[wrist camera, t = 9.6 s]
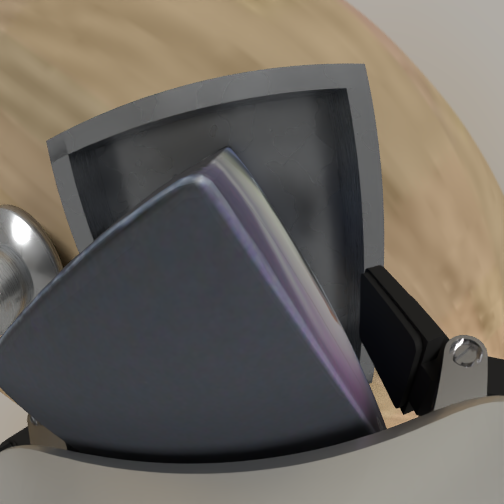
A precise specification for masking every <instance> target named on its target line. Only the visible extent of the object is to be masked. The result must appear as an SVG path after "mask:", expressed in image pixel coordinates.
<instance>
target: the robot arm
mask: <svg viewBox="0 0 504 504" xmlns="http://www.w3.org/2000/svg"><path fill="white" fill-rule="evenodd" d="M359 336H360V339H361V342H362V344H363V346H364V347H365V349H366V351H367V353H368V355H369V357H370V359H371V361H372V363H373V365H374V367H375V369H376V371H377V372H378V374H379V376H380V378H381V380H382V382H383V384H384V386H385V388H386V390H387V392H388V394H389V396H390V398H391V401H392V403H393V405H394V406H395V408H400V409H401V411H402V413H403V415H404V414H406V413H409V412H411V411H413V410H414V411H415V413H416V415H419V416H418V417H417V418H415V419H412V420H410V421H407V422H405V423H402V424H400V425H397V426H394V427H391V428H389V429H386V430H383V431H380V432H377V433H374V434H371V435H368V436H364V437H361V438H358V439H355V440H351V441H348V442H344V443H341V444H337V445H333V446H329V447H325V448H321V449H316V450H312V451H307V452H302V453H297V454H292V455H286V456H280V457H273V458H266V459H258V460H249V461H239V462H226V463H203V464H176V463H153V462H140V461H130V460H121V459H114V458H107V457H101V456H95V455H89V454H83V453H81V452H79V451H78V450H76V449H75V448H73V447H72V446H70V445H69V444H67V443H66V442H64V441H63V440H62V439H60V438H59V437H58V436H56V435H55V434H53V433H52V432H51V431H50V430H48V429H47V428H46V427H44V426H43V425H42V424H41V423H39V422H38V421H37V420H36V419H35V418H33V417H32V416H31V415H30V414H29V413H28V418H27V422H28V426H27V427H26V428H24V429H23V430H21V431H19V432H18V433H16V434H15V435H13V436H12V437H10V438H8V439H7V440H5V441H4V442H2V444H1V445H0V504H504V360H503V359H498V358H493V357H488V356H487V350H486V348H485V346H484V344H483V343H482V342H481V341H480V340H478V339H477V338H475V337H472V336H468V335H459V336H456V337H453V338H452V339H450V340H449V338H448V337H447V336H446V335H445V333H444V332H443V331H442V330H441V329H440V328H439V326H438V325H437V324H436V323H435V322H434V321H433V319H432V318H431V317H430V316H429V315H428V314H427V313H426V311H425V310H424V309H423V308H422V307H421V306H420V305H419V304H418V302H417V301H416V300H415V299H414V298H413V297H412V296H411V295H409V294H408V293H407V291H406V290H405V289H404V288H403V287H402V286H401V285H400V284H399V283H398V282H397V281H396V280H395V279H394V278H393V277H392V275H391V274H390V273H389V272H388V271H387V270H386V269H385V268H384V267H383V266H382V265H378V266H374V267H370V268H366V269H365V273H362V274H361V278H360V323H359Z"/></svg>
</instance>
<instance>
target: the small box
mask: <svg viewBox="0 0 504 504" xmlns="http://www.w3.org/2000/svg"><path fill="white" fill-rule="evenodd" d="M0 387H1V388H2V390H3V391H4V392H5V393H6V394H7V395H8V396H10V397H11V398H12V399H13V400H14V401H15V402H16V403H17V404H18V405H19V406H20V407H22V408H23V409H24V410H25V411H26V412H28V413H29V414H30V415H31V416H32V417H33V418H35V419H36V420H37V421H38V422H39V423H41V424H42V425H43V426H44V427H46V428H47V429H48V430H50V431H51V432H52V433H53V434H55V435H56V436H58V437H59V438H60V439H62V440H63V441H64V442H66V443H67V444H69V445H70V446H72V447H73V448H75V449H76V450H78V451H79V452H81V453H83V454H89V455H95V456H101V457H107V458H114V459H121V460H130V461H140V462H153V463H176V464H203V463H226V462H239V461H249V460H258V459H266V458H273V457H280V456H286V455H292V454H297V453H302V452H307V451H312V450H316V449H321V448H325V447H329V446H333V445H337V444H341V443H344V442H348V441H351V440H355V439H358V438H361V437H364V436H368V435H371V434H374V433H377V432H380V431H383V430H386V429H387V428H386V426H385V423H384V420H383V417H382V415H381V412H380V410H379V407H378V405H377V402H376V400H375V397H374V395H373V392H372V390H371V388H370V385H369V383H368V381H367V379H366V376H365V374H364V372H363V369H362V367H361V365H360V363H359V361H358V358H357V356H356V354H355V352H354V350H353V348H352V346H351V344H350V341H349V339H348V337H347V335H346V333H345V331H344V329H343V327H342V325H341V323H340V321H339V319H338V317H337V315H336V313H335V311H334V310H333V308H332V306H331V304H330V302H329V300H328V298H327V296H326V294H325V292H324V290H323V288H322V287H321V285H320V283H319V281H318V280H317V278H316V276H315V274H314V273H313V271H312V269H311V268H310V266H309V264H308V263H307V261H306V259H305V258H304V256H303V254H302V252H301V251H300V249H299V247H298V246H297V244H296V242H295V241H294V239H293V237H292V236H291V234H290V232H289V231H288V229H287V228H286V226H285V224H284V223H283V221H282V220H281V218H280V217H279V215H278V213H277V212H276V210H275V209H274V207H273V206H272V204H271V203H270V201H269V199H268V198H267V196H266V195H265V193H264V192H263V190H262V189H261V187H260V186H259V185H258V183H257V182H256V180H255V179H254V177H253V176H252V175H251V173H250V172H249V170H248V169H247V168H246V166H245V165H244V164H243V162H242V161H241V160H240V159H239V157H238V156H237V155H236V154H235V152H234V151H233V150H232V149H231V148H230V147H229V146H225V147H223V148H221V149H219V150H218V151H216V152H215V153H213V154H211V155H210V156H208V157H206V158H205V159H203V160H201V161H199V162H198V163H196V164H194V165H193V166H191V167H189V168H188V169H186V170H184V171H183V172H181V173H180V174H178V175H177V176H175V177H174V178H172V179H171V180H169V181H168V182H167V183H165V184H164V185H162V186H161V187H159V188H158V189H156V190H155V191H154V192H153V193H151V194H150V195H149V196H148V197H146V198H145V199H144V200H142V201H141V202H140V203H138V204H137V205H136V206H135V207H133V208H132V209H131V210H130V211H129V212H127V213H126V214H125V215H124V216H122V217H121V218H120V219H119V220H118V221H116V222H115V223H114V224H113V225H111V226H110V227H109V228H108V229H107V230H106V231H104V232H103V233H102V234H101V235H100V236H99V237H97V238H96V239H95V240H94V241H93V242H92V243H91V244H90V245H89V246H88V247H86V248H85V249H84V250H83V251H82V252H81V253H80V254H78V255H77V256H76V257H75V258H74V259H73V260H71V261H70V262H69V263H68V264H67V265H66V266H65V267H64V268H63V269H62V270H61V271H60V272H59V273H58V274H57V275H56V276H55V277H54V278H53V279H52V280H51V281H50V282H49V283H48V284H47V285H46V286H45V287H44V288H43V289H42V290H41V291H40V292H39V293H38V295H37V296H36V297H35V298H34V299H33V300H32V301H31V302H30V304H29V305H28V306H27V307H26V308H25V309H24V310H23V311H22V312H21V313H20V314H19V316H18V317H17V318H16V319H15V321H14V322H13V323H12V324H11V325H10V326H9V327H8V328H7V330H6V331H5V332H4V334H3V335H2V336H1V337H0Z"/></svg>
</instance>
